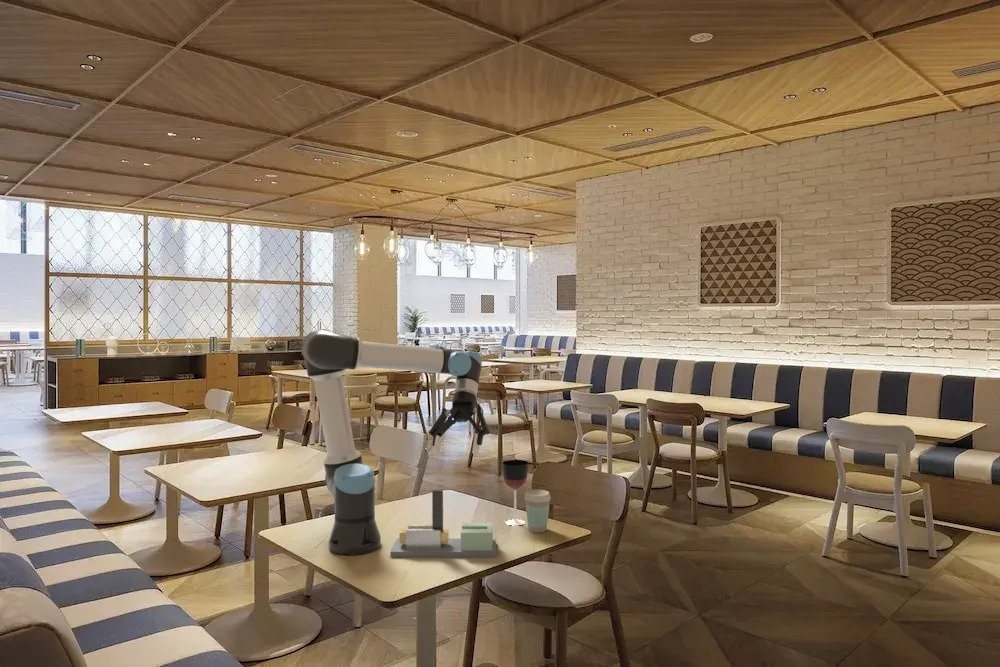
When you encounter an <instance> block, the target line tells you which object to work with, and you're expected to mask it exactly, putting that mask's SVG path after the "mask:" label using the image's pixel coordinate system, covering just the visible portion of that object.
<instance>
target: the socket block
mask: <svg viewBox="0 0 1000 667" xmlns="http://www.w3.org/2000/svg"><path fill="white" fill-rule="evenodd" d="M493 524H494V523H493V522H462V525H461V530H460V539H461V551H492V546H493V539H494V525H493Z"/></svg>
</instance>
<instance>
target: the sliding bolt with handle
mask: <svg viewBox="0 0 1000 667" xmlns="http://www.w3.org/2000/svg"><path fill="white" fill-rule="evenodd" d="M431 492H432V494H431V496H432V497H431V498H432V501H431V502H432V508H431V510H432V512H431V513H432V514H431V515H432V516H431V517H432V518H431V519H432V524H431V525H432V529H441V544H448V540H449V539H450V538H449V537H450V535H449V532H450V530H449V528H444V489H432V491H431ZM406 529H407V528H401V529H400V531H399V538H400V544H406Z"/></svg>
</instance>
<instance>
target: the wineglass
mask: <svg viewBox="0 0 1000 667" xmlns="http://www.w3.org/2000/svg"><path fill="white" fill-rule="evenodd" d="M501 465H502V466H501V468H502V475H503V481H504V484H505V485H506V486H508V487H509V488H511V489H513V518H512V520H510V519H507V520H508V521H506V520H505V521H506V522H505V521H504V522H505V523H506V524H507V525H506V526H508V525H512V526H511V527H515V526H514V525H522V524H525V520H524V521H523V519H520V518H519V519H520V520H519V519H518V518H517V489H519V488H521V487H523V486H524V485H525V484H526V482H527V477H528V472H529V461H527V460H523V459H509V460H504V461H502V463H501ZM525 525H526V524H525Z"/></svg>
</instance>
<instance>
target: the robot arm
mask: <svg viewBox="0 0 1000 667" xmlns="http://www.w3.org/2000/svg"><path fill="white" fill-rule="evenodd" d="M300 348H301V349H300V350H301V355H302V357H303V359H304V364H305V368H306V372H307V373H306V374H307V377H308V378H309V379H311V381H312V380H313V382H314V389H315V393H316V399H317V400H316V401H317V405H318V410H319V415H320V421H321V427H322V430H323V431H322V432H323V437H324V438H323V439H324V444H325V448H326V454H327V455H326V457H325V458H324V459H323V465H324V470H325V478H324V479H325V485H326V488H327V489H328V490H329V492H330V493H331V495H332V496H333V499H334V522H333V527H332V529H331V533H330V537H329V539H328V550H329V549H330V550H331V551H330V550H329V551H330V552H332V551H333V552H335V553H334V554H336V553H339V554H338V555H341V554H348V555H347V556H355V555H354V554H358V555H362V553H364V554H368V553H371V552H374V551H376V550H378V549H379V548H380V547H381V544H382V538H381V533H380V531H379V527H378V525H377V522H376V518H375V516H376V515H375V513H376V512H375V511H376V510H375V505H376V504H375V496H376V495H375V494H376V493H375V491H376V490H375V487H376V486H375V484H376V477H375V472H374V470H373V468H372V467H371V466H369V465H367V464H365V465H364V462H363V457H362V453H361V452H360V451H358V450H357V449H356V446H355V440H354V434H353V430H352V424H351V418H350V413H349V412H350V411H349V407H348V401H347V397H346V391H345V386H344V385H345V384H344V380H343V379H344V378H343V375H344V373H345V371H346V370H353V371H354V370H357V369H358V368H359V367H360V368H361V367H362V368H373V369H385V370H387V369H388V370H397V371H399V370H400V371H410V372H422V373H435V374H445V375H451V376H453V377H456V380H455V386H454V390H453V391H454V392H453V397H452V402H451V403H452V404H451V408H450V409H448V408H447V409H446V407H443V408H442V410H441V412H440V415H439V417H438V418H437V419H436V420H435V422H434V423H433V426H432V427H431V429H429V431H428V434H429V435H430V436H431V437H432V438H433V439H432V444H431V445H432V446H433V451H432V455H433V456H434V457H435V458H436V459H439V457H440V452H441V445H442V440H443V439H442V437H443V436H444V434H446V432H447V431H449V429H450V428H451V427H452V426H453V425H455V424H456V423H467V422H468V421H469V423H470V424H471V425H472V427H473V428H474V429H475V431H476V432H477V433H474V439H473V446H472V452H471V453H472V454H473V456H475V457H478V456H479V450H480V446H482V445H483V440H484V436H486V435H490V429H489V428H488V427H489V426H488V424H487V420H486V418H485V416H484V409H483V408H482V406H481V405H477V406H476V402H477V396H478V391H479V390H478V389H479V383H480V376H481V371H482V369H483V368H482V365H483V359H482V356H481V355H480V353H478V352H475V351H471V350H467V351H463V350H454V349H449V348H446V347H443V346H442V345H438V344H431V345H430V346H429V347H424V346H423V347H422V346H412V345H404V344H403V345H401V344H393V343H384V342H382V343H381V342H372V341H364V340H363V341H362V340H361V339H360V338H359V337H357V336H350V335H349V336H348V335H346V334H340V333H338V332H335V331H331V330H330V329H325V328H323V329H320V328H319V329H316V330H313V331H311V332H309V333H308V334H307V335H306V336H305V337H304V339H303V340H302V344H301V347H300ZM474 414H476V415H477V416H478V420H479V422H480V425H481V428H480V427H479V425H478V424H477V423H476V421H475V420H474V418H473V415H474ZM333 552H332V553H333ZM367 552H368V553H367Z"/></svg>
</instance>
